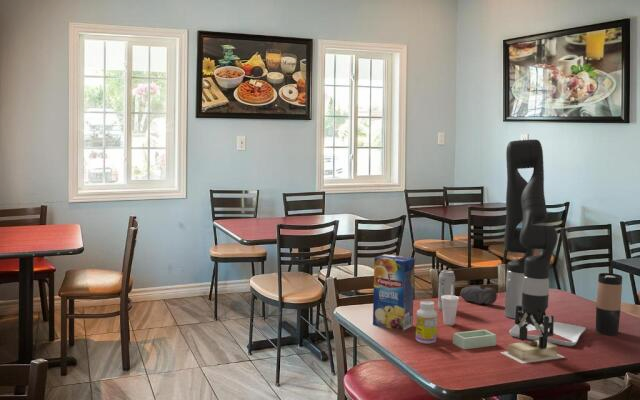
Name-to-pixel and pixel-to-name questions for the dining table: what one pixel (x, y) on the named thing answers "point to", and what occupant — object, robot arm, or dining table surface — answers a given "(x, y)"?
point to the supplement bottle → (426, 323)
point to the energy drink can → (445, 285)
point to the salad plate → (558, 328)
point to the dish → (474, 339)
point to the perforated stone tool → (479, 294)
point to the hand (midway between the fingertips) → (532, 344)
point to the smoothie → (449, 307)
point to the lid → (531, 350)
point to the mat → (532, 359)
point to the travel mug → (608, 303)
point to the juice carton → (393, 291)
